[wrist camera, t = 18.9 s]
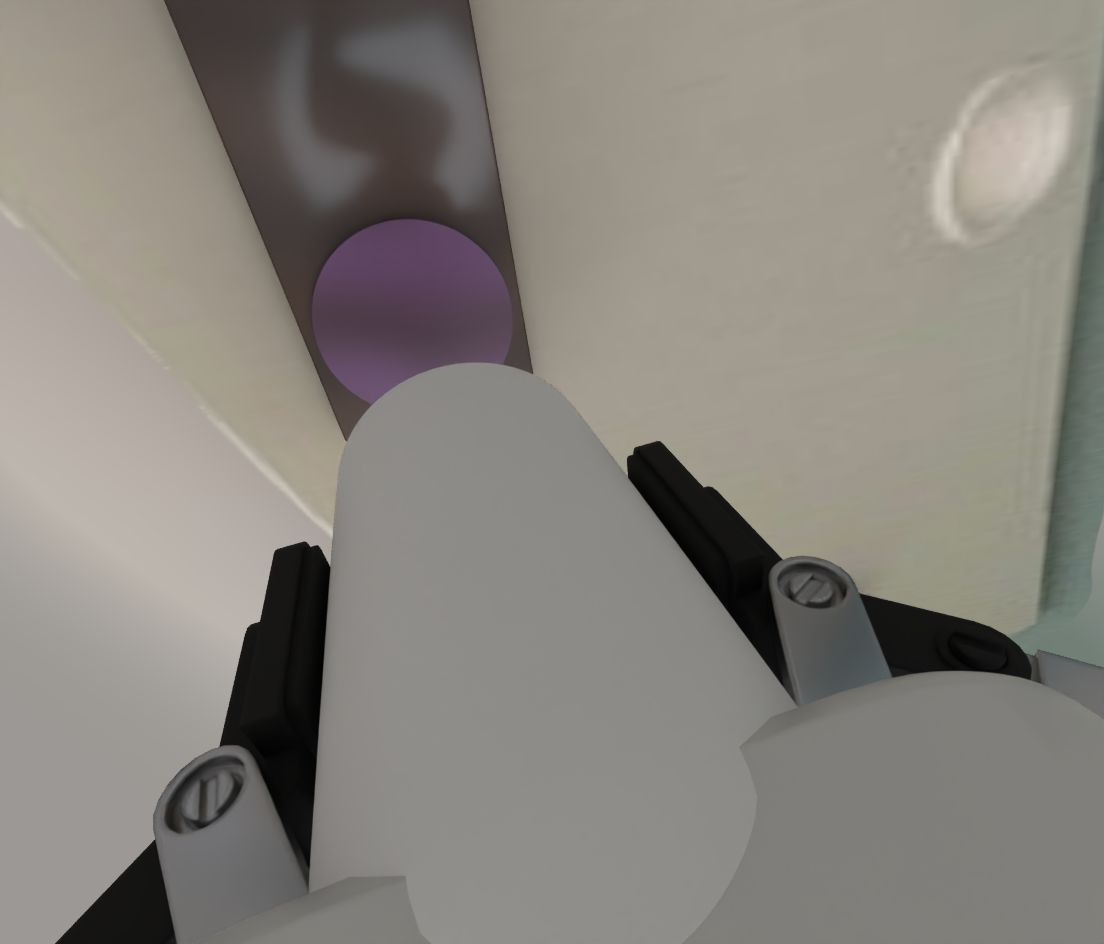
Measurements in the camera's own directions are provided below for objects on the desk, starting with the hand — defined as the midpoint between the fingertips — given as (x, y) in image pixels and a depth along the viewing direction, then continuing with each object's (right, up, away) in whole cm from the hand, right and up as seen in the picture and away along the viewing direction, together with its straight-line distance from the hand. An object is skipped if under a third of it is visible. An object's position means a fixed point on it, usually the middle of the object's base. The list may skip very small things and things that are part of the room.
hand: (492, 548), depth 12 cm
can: (-1, +2, +3) cm, 3 cm away
